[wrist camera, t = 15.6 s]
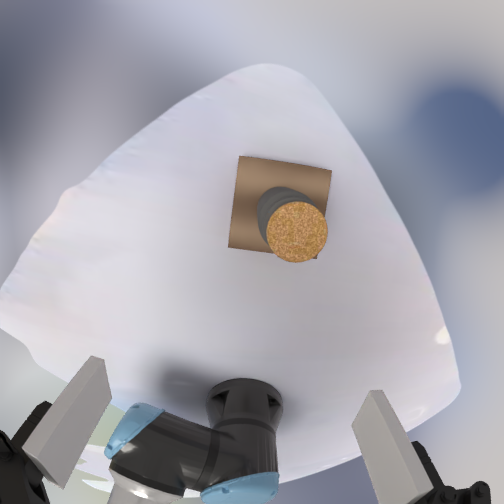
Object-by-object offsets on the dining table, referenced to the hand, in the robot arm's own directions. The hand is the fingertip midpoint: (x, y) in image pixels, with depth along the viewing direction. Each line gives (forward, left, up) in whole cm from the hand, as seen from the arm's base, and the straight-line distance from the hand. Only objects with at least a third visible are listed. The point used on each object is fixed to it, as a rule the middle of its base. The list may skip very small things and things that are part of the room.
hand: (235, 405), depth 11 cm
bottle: (+6, -3, -26) cm, 27 cm away
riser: (+6, -3, -30) cm, 31 cm away
